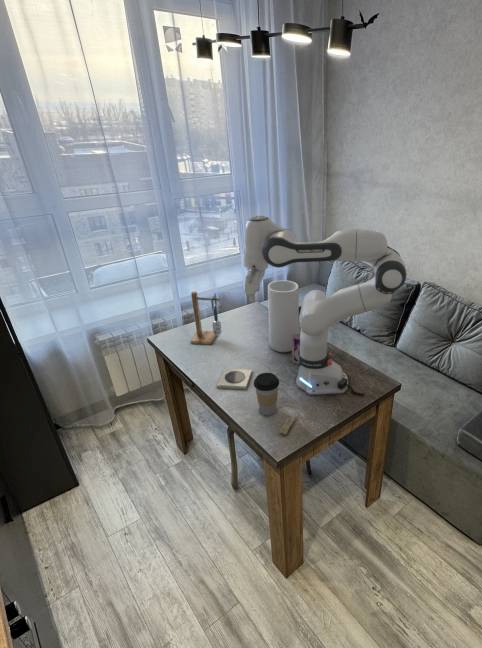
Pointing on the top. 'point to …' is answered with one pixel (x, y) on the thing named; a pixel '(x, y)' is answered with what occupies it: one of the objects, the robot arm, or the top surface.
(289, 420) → the snack bar
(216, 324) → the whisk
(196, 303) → the hook stand
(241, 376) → the hot plate
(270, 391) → the coffee cup
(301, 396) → the top surface
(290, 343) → the vase
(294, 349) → the greeting card
